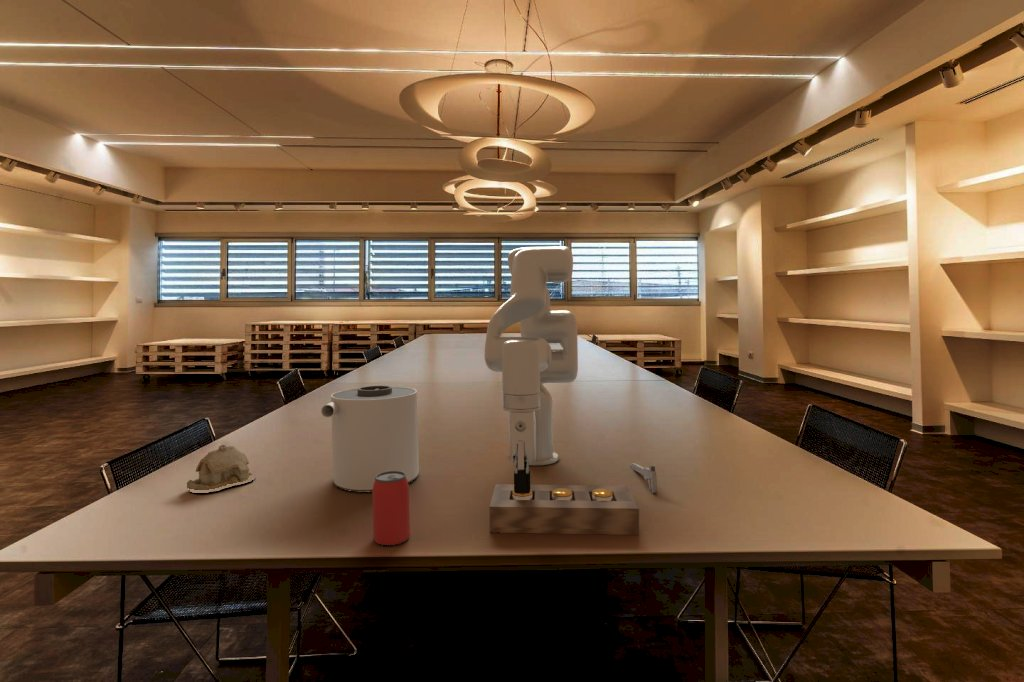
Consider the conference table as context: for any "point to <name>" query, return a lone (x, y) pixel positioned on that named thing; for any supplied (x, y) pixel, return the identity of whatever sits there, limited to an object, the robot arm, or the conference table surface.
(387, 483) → the beer can
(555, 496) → the middle knob
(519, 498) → the left knob
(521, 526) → the knob console
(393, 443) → the humidifier
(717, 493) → the conference table surface
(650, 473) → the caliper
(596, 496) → the right knob
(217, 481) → the ceramic model
